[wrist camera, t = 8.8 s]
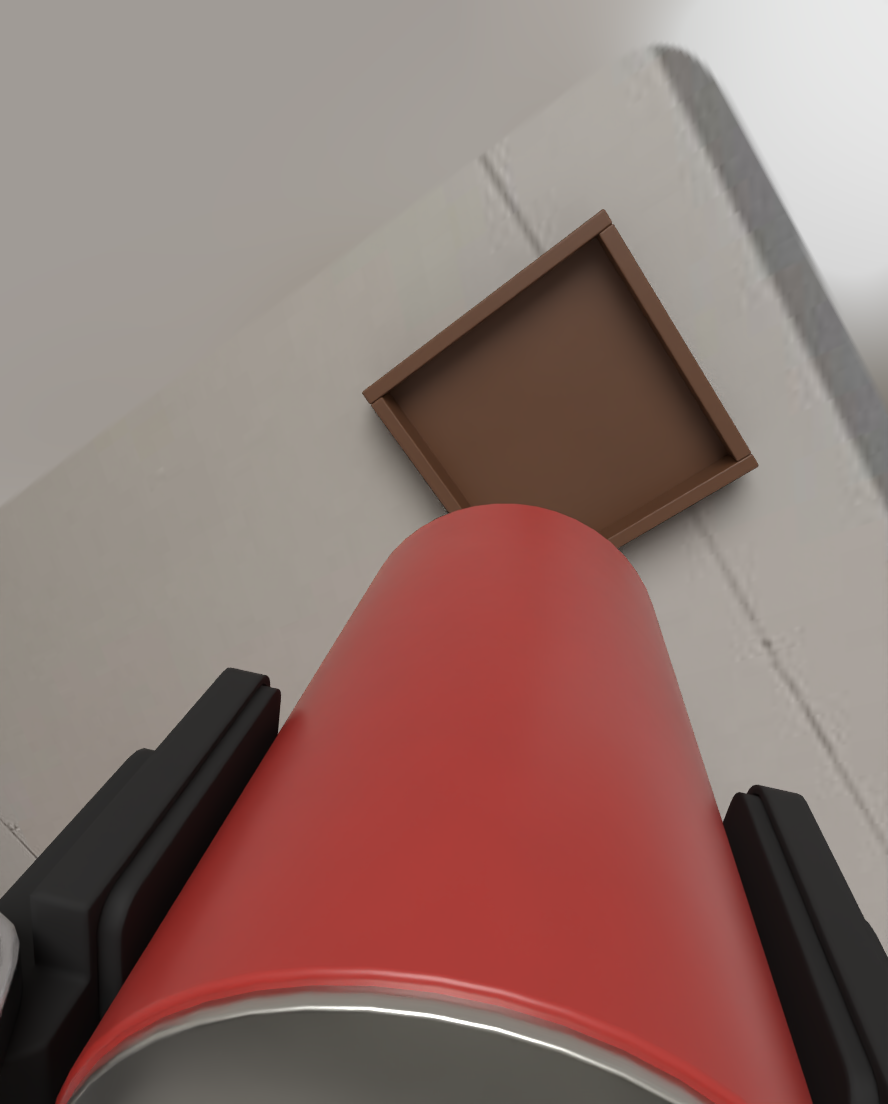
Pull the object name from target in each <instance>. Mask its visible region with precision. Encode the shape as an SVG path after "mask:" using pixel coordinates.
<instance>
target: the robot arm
mask: <svg viewBox="0 0 888 1104" xmlns="http://www.w3.org/2000/svg"><path fill="white" fill-rule="evenodd" d="M280 703H281V692H280V690H279V689H276V688H271V687H270V680H269V677H268V676H266V675H262V674H257V673H253V672H248V671H244V670H239V669H235V668H227V669H226V670H225V671H223V672H222V674H221V675H220V676H219V677H218V678H217V679H216V681H215V682H214V683H213V684H212V685H211V686H210V687H209V689H208V690H207V691H206V692H205V693H204V694H203V696H202V697H201V698H200V699H199V700H198V701H197V703H196V704H195V705H194V706H193V707H192V708H191V709H190V711H189V712H188V713H187V714H186V715H185V716H184V718H183V719H182V720H181V721H180V722H179V723H178V724H177V726H176V727H175V728H174V729H173V730H172V731H171V733H170V734H169V735H168V736H167V737H166V738H165V740H164V741H163V742H162V743H161V744H160V745H159V746H158V748H157V749H156V750H155V751H154V750H150V749H146V748H143V749H140V750H138V751H136V752H135V753H134V754H133V755H131V756H130V757H129V758H128V759H127V760H126V761H125V762H124V764H123V765H122V766H121V767H120V768H119V769H118V770H117V771H116V772H115V773H114V775H113V776H112V777H111V778H110V779H109V780H108V781H107V782H106V783H105V784H104V786H103V787H102V788H101V789H100V790H99V791H98V792H97V793H96V794H95V795H94V797H93V798H92V799H91V800H90V801H89V802H88V803H87V804H86V805H85V807H84V808H83V809H82V810H81V811H80V812H79V813H78V814H77V815H76V816H75V818H74V819H73V820H72V821H71V822H70V823H69V824H68V825H67V826H66V827H65V829H64V830H63V831H62V832H61V833H60V834H59V835H58V836H57V837H56V838H55V840H54V841H53V842H52V843H51V844H50V845H49V846H48V847H47V848H46V849H45V851H44V852H43V853H42V854H41V855H40V856H39V857H38V858H37V859H36V860H35V862H34V863H33V864H32V865H31V866H30V867H29V868H28V869H27V870H26V872H25V873H24V874H23V875H22V876H21V877H20V878H19V879H18V880H17V881H16V883H15V884H14V885H13V886H12V887H11V888H10V889H9V890H8V891H7V892H6V894H5V895H4V896H3V897H2V898H1V899H0V1104H55V1102H56V1098H57V1096H58V1094H59V1092H60V1090H61V1088H62V1086H63V1084H64V1082H65V1080H66V1078H67V1076H68V1074H69V1072H70V1070H71V1068H72V1067H73V1065H74V1063H75V1062H76V1060H77V1059H78V1057H79V1055H80V1054H81V1052H82V1051H83V1049H84V1047H85V1046H86V1044H87V1042H88V1041H89V1039H90V1038H91V1036H92V1034H93V1033H94V1031H95V1029H96V1028H97V1026H98V1025H99V1023H100V1021H101V1020H102V1018H103V1017H104V1015H105V1013H106V1012H107V1010H108V1008H109V1007H110V1005H111V1004H112V1002H113V1000H114V999H115V997H116V996H117V994H118V992H119V991H120V989H121V987H122V986H123V984H124V983H125V981H126V979H127V978H128V976H129V975H130V973H131V971H132V970H133V968H134V966H135V965H136V963H137V962H138V960H139V958H140V957H141V955H142V953H143V952H144V950H145V949H146V947H147V945H148V944H149V942H150V941H151V939H152V937H153V936H154V934H155V932H156V931H157V929H158V928H159V926H160V924H161V923H162V921H163V920H164V918H165V916H166V915H167V913H168V911H169V910H170V908H171V907H172V905H173V903H174V902H175V900H176V899H177V897H178V895H179V894H180V892H181V890H182V889H183V887H184V886H185V884H186V882H187V881H188V879H189V877H190V876H191V874H192V873H193V871H194V869H195V868H196V866H197V865H198V863H199V861H200V860H201V858H202V856H203V855H204V853H205V852H206V850H207V848H208V847H209V845H210V844H211V842H212V840H213V839H214V837H215V835H216V834H217V832H218V831H219V829H220V827H221V826H222V824H223V823H224V821H225V819H226V818H227V816H228V814H229V813H230V811H231V810H232V808H233V806H234V805H235V803H236V801H237V800H238V798H239V797H240V795H241V793H242V792H243V790H244V789H245V787H246V785H247V784H248V782H249V780H250V779H251V777H252V776H253V774H254V772H255V771H256V769H257V768H258V766H259V764H260V763H261V761H262V759H263V758H264V756H265V755H266V753H267V751H268V750H269V748H270V747H271V745H272V743H273V742H274V740H275V738H276V737H277V735H278V726H279V714H280ZM723 825H724V829H725V832H726V835H727V838H728V841H729V844H730V847H731V850H732V853H733V857H734V860H735V863H736V866H737V869H738V872H739V875H740V878H741V881H742V885H743V888H744V891H745V894H746V897H747V900H748V903H749V906H750V909H751V913H752V916H753V919H754V922H755V925H756V928H757V931H758V934H759V937H760V941H761V944H762V947H763V950H764V953H765V956H766V959H767V962H768V965H769V968H770V972H771V975H772V978H773V981H774V984H775V987H776V990H777V993H778V996H779V1000H780V1003H781V1006H782V1009H783V1012H784V1015H785V1018H786V1021H787V1024H788V1028H789V1031H790V1034H791V1037H792V1040H793V1043H794V1046H795V1049H796V1052H797V1056H798V1059H799V1062H800V1065H801V1068H802V1071H803V1074H804V1077H805V1080H806V1083H807V1087H808V1090H809V1093H810V1096H811V1099H812V1102H813V1104H888V957H887V955H886V953H885V951H884V949H883V947H882V945H881V943H880V941H879V939H878V937H877V935H876V933H875V932H874V930H873V929H872V927H871V926H870V924H869V923H868V922H867V921H866V920H865V919H864V917H863V915H862V913H861V911H860V909H859V907H858V905H857V903H856V901H855V899H854V896H853V894H852V892H851V890H850V888H849V886H848V884H847V882H846V880H845V878H844V876H843V874H842V872H841V870H840V868H839V866H838V864H837V862H836V860H835V858H834V856H833V854H832V852H831V850H830V848H829V846H828V844H827V842H826V840H825V838H824V836H823V834H822V832H821V830H820V828H819V826H818V824H817V822H816V820H815V818H814V816H813V814H812V812H811V810H810V808H809V806H808V804H807V802H806V801H805V799H804V798H803V796H801V795H799V794H797V793H792V792H788V791H783V790H779V789H774V788H770V787H765V786H761V785H754V786H752V787H751V788H750V789H749V790H748V792H747V794H745V793H741V792H739V793H736V794H735V795H734V797H733V799H732V801H731V803H730V806H729V808H728V811H727V813H726V816H725V819H724V821H723Z"/></svg>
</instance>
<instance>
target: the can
mask: <svg viewBox="0 0 888 1104" xmlns="http://www.w3.org/2000/svg"><path fill="white" fill-rule="evenodd" d="M55 1104H813V1102H812V1099H811V1096H810V1093H809V1090H808V1087H807V1083H806V1080H805V1077H804V1074H803V1071H802V1068H801V1065H800V1062H799V1059H798V1056H797V1052H796V1049H795V1046H794V1043H793V1040H792V1037H791V1034H790V1031H789V1028H788V1024H787V1021H786V1018H785V1015H784V1012H783V1009H782V1006H781V1003H780V1000H779V996H778V993H777V990H776V987H775V984H774V981H773V978H772V975H771V972H770V968H769V965H768V962H767V959H766V956H765V953H764V950H763V947H762V944H761V941H760V937H759V934H758V931H757V928H756V925H755V922H754V919H753V916H752V913H751V909H750V906H749V903H748V900H747V897H746V894H745V891H744V888H743V885H742V881H741V878H740V875H739V872H738V869H737V866H736V863H735V860H734V857H733V853H732V850H731V847H730V844H729V841H728V838H727V835H726V832H725V829H724V825H723V822H722V819H721V816H720V813H719V810H718V807H717V804H716V801H715V798H714V794H713V791H712V788H711V785H710V782H709V779H708V776H707V773H706V770H705V766H704V763H703V760H702V757H701V754H700V751H699V748H698V745H697V742H696V738H695V735H694V732H693V729H692V726H691V723H690V720H689V717H688V714H687V710H686V707H685V704H684V701H683V698H682V695H681V692H680V689H679V686H678V682H677V679H676V676H675V673H674V670H673V667H672V664H671V661H670V658H669V655H668V651H667V648H666V645H665V642H664V639H663V636H662V633H661V630H660V627H659V623H658V620H657V617H656V614H655V611H654V608H653V605H652V602H651V600H650V597H649V595H648V592H647V589H646V587H645V585H644V584H643V582H642V580H641V578H640V577H639V575H638V573H637V571H636V570H635V569H634V567H633V566H632V565H631V564H630V562H629V561H628V560H627V558H626V557H625V556H624V555H623V554H622V553H621V552H620V551H619V550H618V549H617V548H616V547H615V546H614V545H613V544H612V543H611V542H610V541H608V540H607V539H606V538H604V537H603V536H602V535H600V534H599V533H598V532H596V531H595V530H594V529H592V528H590V527H588V526H586V525H585V524H583V523H581V522H579V521H578V520H576V519H573V518H571V517H568V516H566V515H563V514H561V513H558V512H555V511H552V510H548V509H544V508H540V507H536V506H529V505H521V504H488V505H480V506H473V507H469V508H465V509H462V510H458V511H454V512H452V513H449V514H447V515H444V516H442V517H439V518H437V519H435V520H433V521H432V522H430V523H428V524H426V525H424V526H423V527H421V528H419V529H418V530H417V531H415V532H414V533H413V534H411V535H410V536H409V537H408V538H406V539H405V540H404V541H403V542H402V543H401V544H400V545H399V546H398V547H397V548H396V549H395V550H394V551H393V552H392V553H391V555H390V556H389V558H388V559H387V560H386V562H385V563H384V564H383V566H382V567H381V569H380V570H379V572H378V573H377V575H376V577H375V578H374V580H373V582H372V583H371V585H370V586H369V588H368V590H367V591H366V593H365V595H364V596H363V598H362V599H361V601H360V603H359V604H358V606H357V607H356V609H355V611H354V612H353V614H352V616H351V617H350V619H349V620H348V622H347V624H346V625H345V627H344V628H343V630H342V632H341V633H340V635H339V637H338V638H337V640H336V641H335V643H334V645H333V646H332V648H331V649H330V651H329V653H328V654H327V656H326V658H325V659H324V661H323V662H322V664H321V666H320V667H319V669H318V671H317V672H316V674H315V675H314V677H313V679H312V680H311V682H310V683H309V685H308V687H307V688H306V690H305V692H304V693H303V695H302V696H301V698H300V700H299V701H298V703H297V704H296V706H295V708H294V709H293V711H292V713H291V714H290V716H289V717H288V719H287V721H286V722H285V724H284V725H283V727H282V729H281V730H280V732H279V734H278V735H277V737H276V738H275V740H274V742H273V743H272V745H271V747H270V748H269V750H268V751H267V753H266V755H265V756H264V758H263V759H262V761H261V763H260V764H259V766H258V768H257V769H256V771H255V772H254V774H253V776H252V777H251V779H250V780H249V782H248V784H247V785H246V787H245V789H244V790H243V792H242V793H241V795H240V797H239V798H238V800H237V801H236V803H235V805H234V806H233V808H232V810H231V811H230V813H229V814H228V816H227V818H226V819H225V821H224V823H223V824H222V826H221V827H220V829H219V831H218V832H217V834H216V835H215V837H214V839H213V840H212V842H211V844H210V845H209V847H208V848H207V850H206V852H205V853H204V855H203V856H202V858H201V860H200V861H199V863H198V865H197V866H196V868H195V869H194V871H193V873H192V874H191V876H190V877H189V879H188V881H187V882H186V884H185V886H184V887H183V889H182V890H181V892H180V894H179V895H178V897H177V899H176V900H175V902H174V903H173V905H172V907H171V908H170V910H169V911H168V913H167V915H166V916H165V918H164V920H163V921H162V923H161V924H160V926H159V928H158V929H157V931H156V932H155V934H154V936H153V937H152V939H151V941H150V942H149V944H148V945H147V947H146V949H145V950H144V952H143V953H142V955H141V957H140V958H139V960H138V962H137V963H136V965H135V966H134V968H133V970H132V971H131V973H130V975H129V976H128V978H127V979H126V981H125V983H124V984H123V986H122V987H121V989H120V991H119V992H118V994H117V996H116V997H115V999H114V1000H113V1002H112V1004H111V1005H110V1007H109V1008H108V1010H107V1012H106V1013H105V1015H104V1017H103V1018H102V1020H101V1021H100V1023H99V1025H98V1026H97V1028H96V1029H95V1031H94V1033H93V1034H92V1036H91V1038H90V1039H89V1041H88V1042H87V1044H86V1046H85V1047H84V1049H83V1051H82V1052H81V1054H80V1055H79V1057H78V1059H77V1060H76V1062H75V1063H74V1065H73V1067H72V1068H71V1070H70V1072H69V1074H68V1076H67V1078H66V1080H65V1082H64V1084H63V1086H62V1088H61V1090H60V1092H59V1094H58V1096H57V1098H56V1102H55Z"/></svg>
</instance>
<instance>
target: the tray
mask: <svg viewBox="0 0 888 1104" xmlns="http://www.w3.org/2000/svg"><path fill="white" fill-rule="evenodd" d="M362 394H363V395H364V397H365V398H366V399H367V401H368V402H369V404H372V405H371V406H372V408H373V409H374V410H375V412H376V413H377V415H378V416H379V417H380V419H381V420H382V422H383V423H384V424H385V426H386V427H387V428H388V430H389V431H390V433H391V434H392V435H393V437H394V438H395V439H396V441H397V442H398V444H399V445H400V446H401V448H402V449H403V450H404V452H405V453H406V455H407V456H408V457H409V459H410V460H411V462H412V463H413V464H414V466H415V467H416V468H417V470H418V471H419V473H420V474H421V475H422V477H423V478H424V479H425V481H426V482H427V484H428V485H429V486H430V488H431V489H432V490H433V492H434V493H435V495H436V496H437V497H438V499H439V500H440V501H441V503H442V504H443V506H444V507H445V508H446V510H447V511H448V513H452V512H454V511H458V510H462V509H465V508H469V507H473V506H480V505H488V504H521V505H529V506H536V507H540V508H544V509H548V510H552V511H555V512H558V513H561V514H563V515H566V516H568V517H571V518H573V519H576V520H578V521H579V522H581V523H583V524H585V525H586V526H588V527H590V528H592V529H594V530H595V531H596V532H598V533H599V534H600V535H602V536H603V537H604V538H606V539H607V540H608V541H610V542H611V543H612V544H613V545H614V546H615V547H616V548H617V549H618V548H619V547H621V546H623V545H625V544H626V543H628V542H630V541H631V540H633V539H635V538H637V537H638V536H640V535H642V534H643V533H645V532H647V531H649V530H650V529H652V528H654V527H655V526H657V525H659V524H661V523H662V522H664V521H666V520H667V519H669V518H671V517H673V516H674V515H676V514H678V513H679V512H681V511H683V510H685V509H686V508H688V507H690V506H691V505H693V504H695V503H697V502H698V501H700V500H702V499H703V498H705V497H707V496H709V495H710V494H712V493H714V492H715V491H717V490H719V489H721V488H722V487H724V486H726V485H727V484H729V483H731V482H733V481H734V480H736V479H738V478H739V477H741V476H743V475H745V474H746V473H748V472H750V471H751V470H753V469H755V468H757V467H758V463H757V461H756V460H755V458H754V456H753V455H752V454H751V451H750V450H749V448H748V446H747V445H746V443H745V441H744V440H743V438H742V436H741V435H740V433H739V431H738V430H737V428H736V426H735V425H734V423H733V421H732V420H731V418H730V417H729V415H728V413H727V412H726V410H725V408H724V407H723V405H722V403H721V402H720V400H719V398H718V397H717V395H716V393H715V392H714V390H713V388H712V387H711V385H710V383H709V382H708V380H707V378H706V377H705V375H704V373H703V372H702V370H701V368H700V367H699V365H698V363H697V362H696V360H695V358H694V357H693V355H692V354H691V352H690V350H689V349H688V347H687V345H686V344H685V342H684V340H683V339H682V337H681V335H680V334H679V332H678V330H677V329H676V327H675V325H674V324H673V322H672V320H671V319H670V317H669V315H668V314H667V312H666V310H665V309H664V307H663V305H662V304H661V302H660V300H659V299H658V297H657V295H656V294H655V292H654V291H653V289H652V287H651V286H650V284H649V282H648V281H647V279H646V277H645V276H644V274H643V272H642V271H641V269H640V267H639V266H638V264H637V262H636V261H635V259H634V257H633V256H632V254H631V252H630V251H629V249H628V247H627V246H626V244H625V242H624V241H623V239H622V237H621V236H620V234H619V232H618V231H617V229H616V228H615V226H614V225H613V224H612V221H611V219H610V218H609V216H608V214H607V213H606V211H605V210H604V209H603V210H601V211H600V212H598V213H597V214H596V215H594V216H593V217H592V218H590V219H589V220H588V221H586V222H585V223H584V224H583V225H581V226H580V227H579V228H577V229H576V230H575V231H573V232H572V233H571V234H569V235H568V236H567V237H565V238H564V239H563V240H561V241H560V242H559V243H558V244H556V245H555V246H554V247H552V248H551V249H550V250H548V251H547V252H546V253H544V254H543V255H542V256H540V257H539V258H538V259H537V260H535V261H534V262H533V263H531V264H530V265H529V266H527V267H526V268H525V269H523V270H522V271H521V272H519V273H518V274H517V275H515V276H514V277H513V278H512V279H510V280H509V281H508V282H506V283H505V284H504V285H502V286H501V287H500V288H498V289H497V290H496V291H494V292H493V293H492V294H490V295H489V296H488V297H487V298H485V299H484V300H483V301H481V302H480V303H479V304H477V305H476V306H475V307H473V308H472V309H471V310H469V311H468V312H467V313H466V314H464V315H463V316H462V317H460V318H459V319H458V320H456V321H455V322H454V323H452V324H451V325H450V326H448V327H447V328H446V329H444V330H443V331H442V332H441V333H439V334H438V335H437V336H435V337H434V338H433V339H431V340H430V341H429V342H427V343H426V344H425V345H423V346H422V347H421V348H419V349H418V350H417V351H416V352H414V353H413V354H412V355H410V356H409V357H408V358H406V359H405V360H404V361H402V362H401V363H400V364H398V365H397V366H396V367H394V368H393V369H392V370H391V371H389V372H388V373H387V374H385V375H384V376H383V377H381V378H380V379H379V380H377V381H376V382H375V383H373V384H372V385H371V386H370V387H368V388H367V389H366V390H364V391H363V392H362Z"/></svg>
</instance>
